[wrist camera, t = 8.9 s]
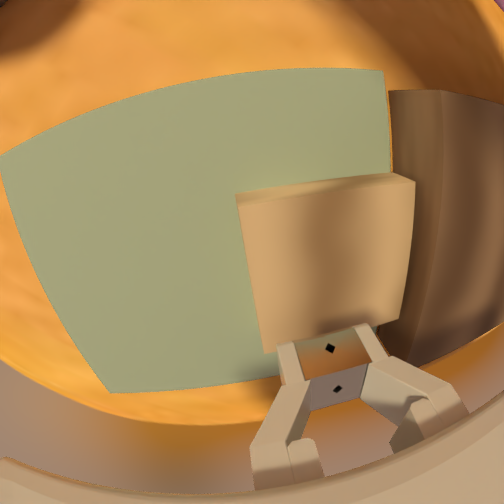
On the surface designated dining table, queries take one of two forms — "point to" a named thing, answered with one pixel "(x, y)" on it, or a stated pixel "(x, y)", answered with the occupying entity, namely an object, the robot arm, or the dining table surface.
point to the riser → (449, 221)
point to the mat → (180, 213)
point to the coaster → (327, 253)
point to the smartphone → (500, 4)
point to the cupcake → (2, 2)
